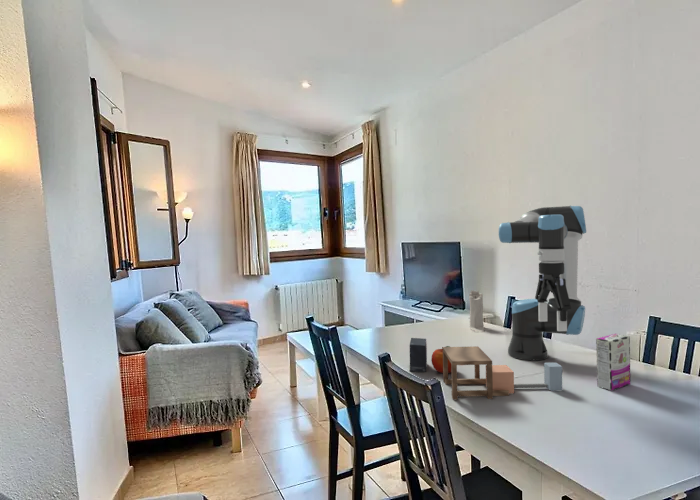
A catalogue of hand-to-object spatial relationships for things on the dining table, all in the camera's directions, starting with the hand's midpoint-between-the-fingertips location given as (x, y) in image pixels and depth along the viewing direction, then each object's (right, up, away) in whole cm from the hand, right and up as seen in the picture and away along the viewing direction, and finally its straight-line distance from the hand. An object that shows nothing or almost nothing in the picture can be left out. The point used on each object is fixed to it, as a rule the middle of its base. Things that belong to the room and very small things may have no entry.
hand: (552, 326), depth 135 cm
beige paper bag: (+1, -17, +83) cm, 85 cm away
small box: (-40, -21, +25) cm, 52 cm away
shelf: (-25, -21, +2) cm, 33 cm away
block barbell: (-9, -21, +1) cm, 23 cm away
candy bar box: (+21, -20, +1) cm, 29 cm away
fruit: (-31, -21, +20) cm, 42 cm away
